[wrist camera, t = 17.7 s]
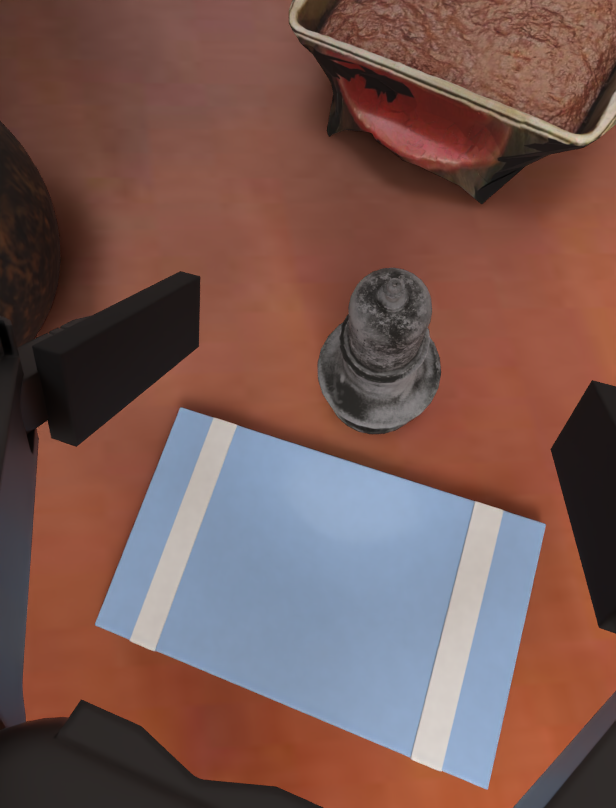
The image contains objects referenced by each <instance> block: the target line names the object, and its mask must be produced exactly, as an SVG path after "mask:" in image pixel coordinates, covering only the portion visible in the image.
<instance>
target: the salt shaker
mask: <svg viewBox="0 0 616 808" xmlns="http://www.w3.org/2000/svg"><path fill="white" fill-rule="evenodd" d="M431 315H432V304H431V297H430V294H429V291H428V289H427V287H426V286H425V284H424V283H423V282H422V280H421V279H419V278H418V277H417V276H416V275H414V274H413V273H411V272H408V271H406V270H404V269H398V268H383V269H380V270H377V271H373V272H372V273H370V274H369V275H367V276H365V277H364V278H363V279H362V280H361V281H360V282H359V283H358V284H357V286H356V288H355V290H354V292H353V293H352V295H351V298H350V302H349V314H348V315H347V317H346V318H345V320H344V322H343V323H342V324H340V325H339V326H338V327H337V328H336V329H335V330H334V331H333V332H332V333H331V334H330V335H329V336H328V338H327V340H326V341H325V343H324V345H323V347H322V348H321V352H320V356H319V360H318V380H319V384H320V387H321V390H322V393H323V395H324V397H325V398H326V400H327V401H328V403H329V404H330V406H331V407H332V409H333V410H334V412H335V413H336V415H337V417H338V418H339V419H340V420H342V421H343V422H344V423H345V424H346V425H347V426H349V427H351V428H353V429H355V430H357V431H359V432H363V433H368V434H385V433H388V432H391V431H394V430H397V429H398V428H400V427H402V426H403V425H405V424H406V423H407V422H409V421H410V420H412V419H414V418H415V417H417V416H418V415H420V414H421V413H422V412H423V411H424V410H425V408H426V407H427V406H428V405H429V404H430V403H431V401H432V400H433V398H434V396H435V394H436V392H437V390H438V387H439V381H440V376H441V366H440V357H439V354H438V352H437V349H436V347H435V344H434V342H433V341H432V340H431V338H430V337H429V329H428V326H429V323H430V320H431Z"/></svg>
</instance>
